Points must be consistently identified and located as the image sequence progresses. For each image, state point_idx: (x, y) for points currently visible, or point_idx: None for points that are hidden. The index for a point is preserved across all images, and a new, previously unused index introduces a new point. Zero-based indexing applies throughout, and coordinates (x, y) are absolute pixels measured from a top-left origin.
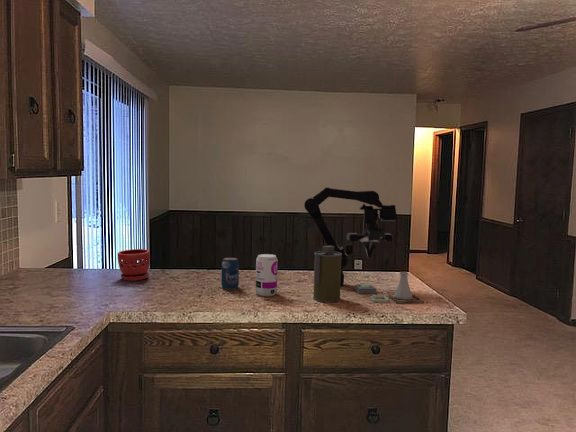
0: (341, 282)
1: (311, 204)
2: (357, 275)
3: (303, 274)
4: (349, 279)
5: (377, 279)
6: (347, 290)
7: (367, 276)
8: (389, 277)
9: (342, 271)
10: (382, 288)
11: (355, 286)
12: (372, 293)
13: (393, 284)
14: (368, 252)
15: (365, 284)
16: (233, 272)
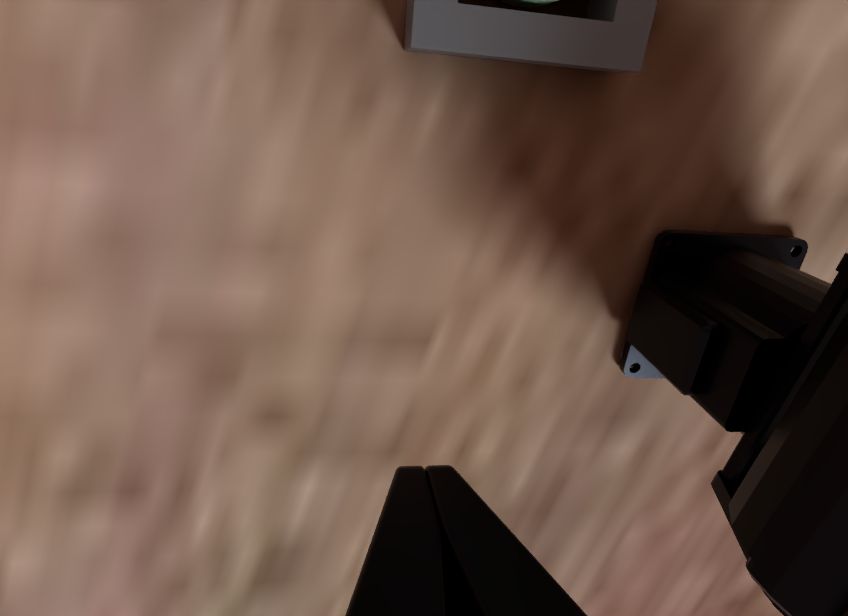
0: (676, 276)
1: None
2: (348, 601)
3: (754, 598)
4: (475, 478)
5: (190, 484)
6: (713, 24)
7: (264, 577)
8: (35, 557)
9: (760, 334)
10: (234, 77)
11: (645, 16)
12: None
13: (33, 276)
14: (509, 571)
15: (497, 50)
16: None
